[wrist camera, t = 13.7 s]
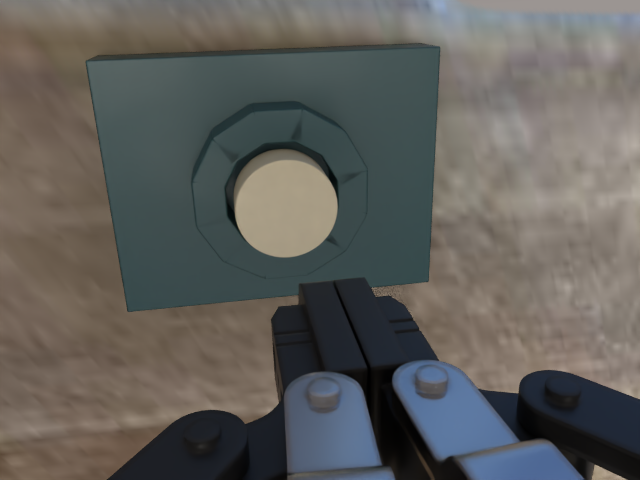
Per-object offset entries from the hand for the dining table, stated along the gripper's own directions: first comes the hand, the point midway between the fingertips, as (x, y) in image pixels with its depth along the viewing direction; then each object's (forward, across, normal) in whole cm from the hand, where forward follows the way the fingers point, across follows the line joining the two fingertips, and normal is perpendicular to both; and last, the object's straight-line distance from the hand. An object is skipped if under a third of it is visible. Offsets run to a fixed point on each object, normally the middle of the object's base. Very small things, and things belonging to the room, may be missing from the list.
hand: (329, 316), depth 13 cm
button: (+9, 0, 0) cm, 9 cm away
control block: (+13, 0, 0) cm, 13 cm away
